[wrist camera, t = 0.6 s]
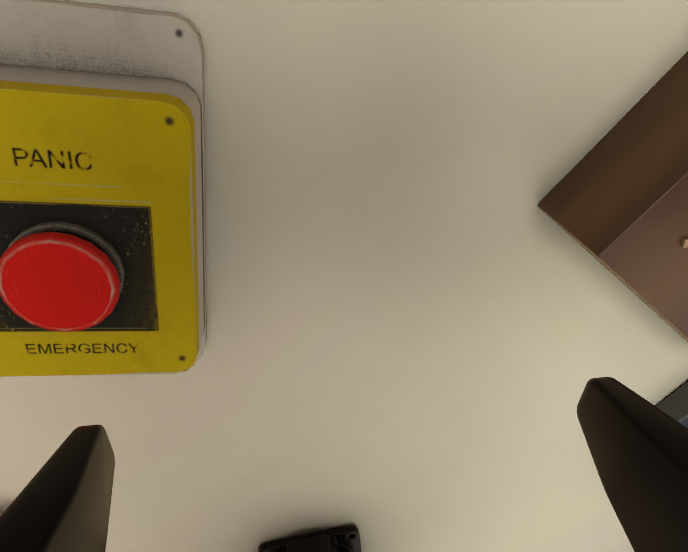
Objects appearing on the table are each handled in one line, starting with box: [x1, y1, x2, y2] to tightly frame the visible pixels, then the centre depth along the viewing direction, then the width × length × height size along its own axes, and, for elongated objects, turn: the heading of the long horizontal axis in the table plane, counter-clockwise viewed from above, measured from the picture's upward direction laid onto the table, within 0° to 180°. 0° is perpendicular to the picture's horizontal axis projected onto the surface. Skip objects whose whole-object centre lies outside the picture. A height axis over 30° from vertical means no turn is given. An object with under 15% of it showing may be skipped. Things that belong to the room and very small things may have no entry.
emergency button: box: [0, 0, 207, 376], centre depth 20 cm, size 9×4×15 cm
